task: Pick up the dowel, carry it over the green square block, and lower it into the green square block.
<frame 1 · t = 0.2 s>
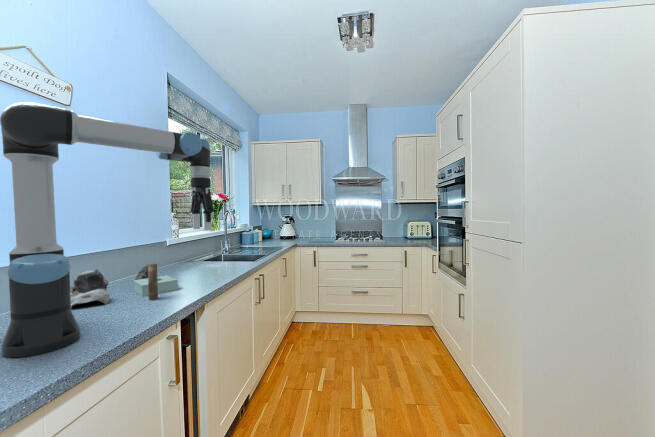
hand: (202, 229, 124), 27 cm above the countertop, tool pointing down, fingers open, 13 cm apart
rock: (144, 285, 145), on the countertop
dowel: (153, 299, 121), on the countertop
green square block: (155, 289, 135), on the countertop
stone: (89, 304, 116), on the countertop
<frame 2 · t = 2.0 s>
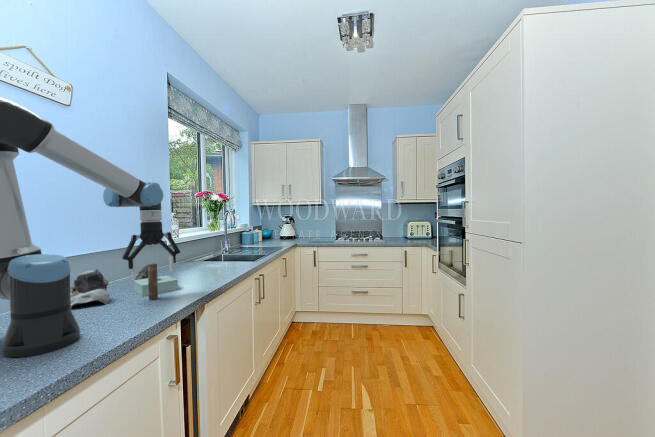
hand: (153, 274, 121), 10 cm above the countertop, tool pointing down, fingers open, 13 cm apart
nothing on the countertop moved.
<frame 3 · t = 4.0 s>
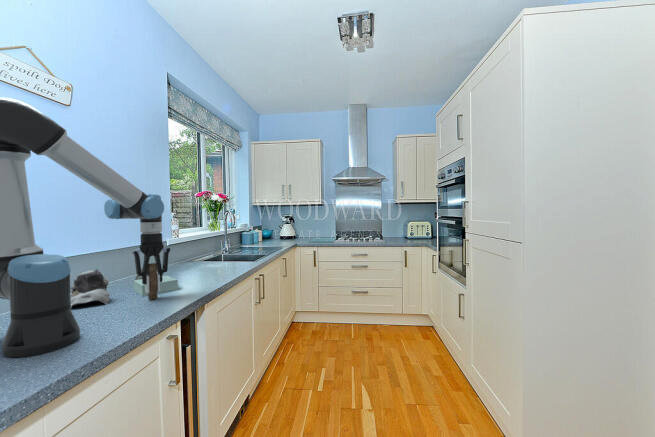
hand: (152, 291, 121), 3 cm above the countertop, tool pointing down, fingers closed on dowel, 3 cm apart
dowel: (152, 298, 121), on the countertop, touching gripper
everything else where it was.
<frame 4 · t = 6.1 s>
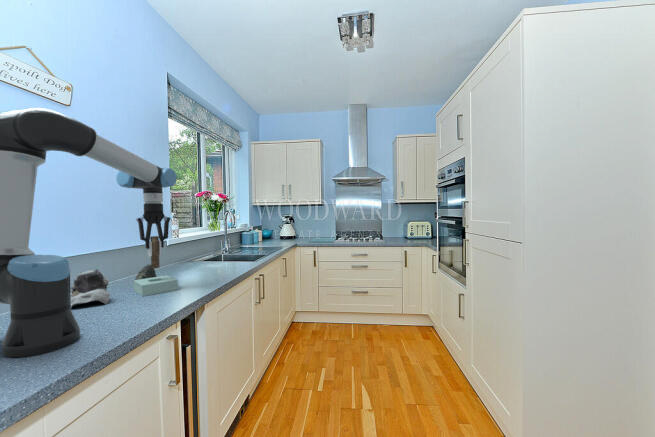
hand: (155, 255, 135), 16 cm above the countertop, tool pointing down, fingers closed on dowel, 3 cm apart
dowel: (155, 267, 135), point 10 cm above the countertop, touching gripper
everything else where it was.
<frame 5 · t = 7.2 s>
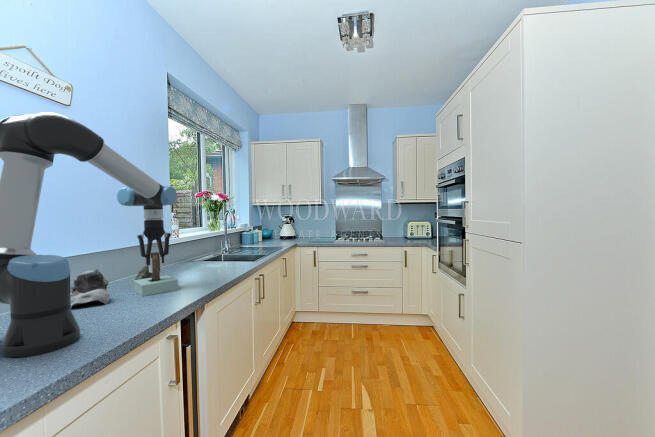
hand: (155, 271, 135), 8 cm above the countertop, tool pointing down, fingers closed on dowel, 3 cm apart
dowel: (156, 283, 136), point 3 cm above the countertop, touching gripper
everything else where it was.
when the fingers open (6 cm above the countertop, at t = 8.3 s): dowel stays where it is, on the countertop.
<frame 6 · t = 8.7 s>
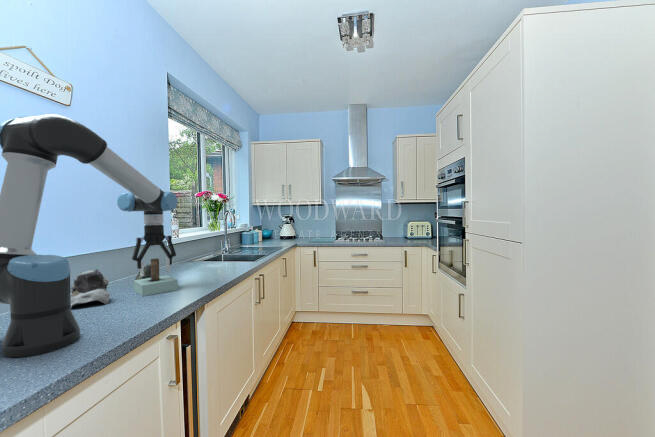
hand: (155, 274, 135), 7 cm above the countertop, tool pointing down, fingers open, 10 cm apart
dowel: (155, 290, 135), on the countertop
everything else where it was.
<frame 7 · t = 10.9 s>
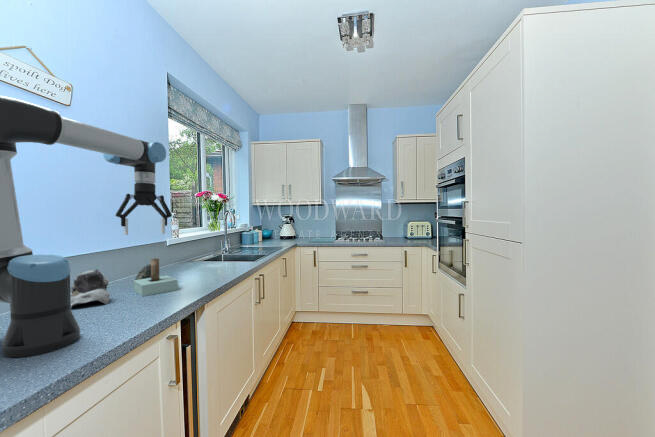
hand: (145, 234, 126), 26 cm above the countertop, tool pointing down, fingers open, 13 cm apart
nothing on the countertop moved.
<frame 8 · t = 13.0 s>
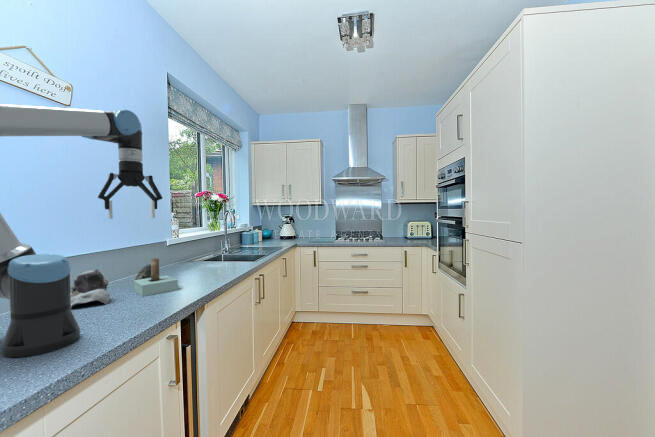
hand: (132, 218, 113), 33 cm above the countertop, tool pointing down, fingers open, 13 cm apart
nothing on the countertop moved.
at the end: dowel 0.1 cm off-centre on the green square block, point 0.0 cm above the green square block's base; dowel tilted 0°; the gripper is holding nothing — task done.
